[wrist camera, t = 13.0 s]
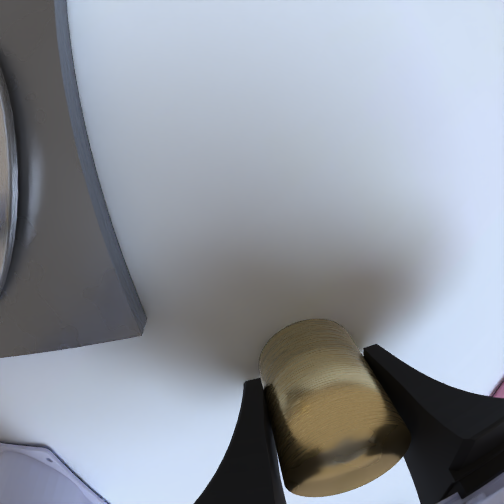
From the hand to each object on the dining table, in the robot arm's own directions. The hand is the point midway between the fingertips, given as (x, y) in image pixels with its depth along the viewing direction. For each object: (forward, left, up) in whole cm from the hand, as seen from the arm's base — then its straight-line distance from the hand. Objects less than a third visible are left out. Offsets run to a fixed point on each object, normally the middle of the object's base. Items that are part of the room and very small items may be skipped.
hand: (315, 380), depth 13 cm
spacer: (0, 0, -1) cm, 1 cm away
